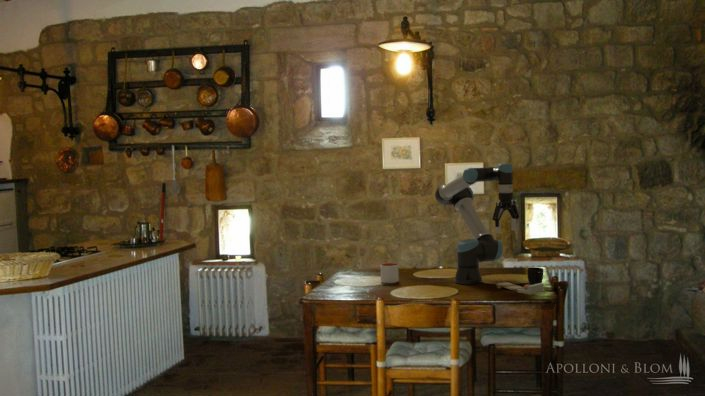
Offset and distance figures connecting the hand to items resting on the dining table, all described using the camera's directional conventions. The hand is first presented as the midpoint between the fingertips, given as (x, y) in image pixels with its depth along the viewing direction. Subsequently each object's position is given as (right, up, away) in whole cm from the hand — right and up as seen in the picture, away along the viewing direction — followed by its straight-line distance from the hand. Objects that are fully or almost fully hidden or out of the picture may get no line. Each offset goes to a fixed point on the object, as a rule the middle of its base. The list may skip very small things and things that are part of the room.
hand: (506, 231), depth 363 cm
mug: (+15, -29, -6) cm, 33 cm away
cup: (-62, -30, +19) cm, 71 cm away
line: (+6, -30, -15) cm, 34 cm away
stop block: (+8, -30, -18) cm, 36 cm away
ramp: (+1, -29, -9) cm, 31 cm away
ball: (+7, -28, -19) cm, 34 cm away
